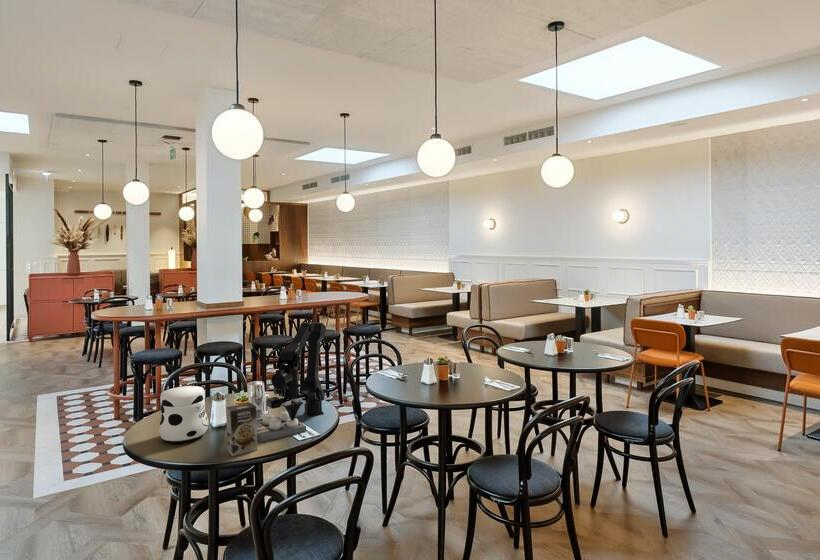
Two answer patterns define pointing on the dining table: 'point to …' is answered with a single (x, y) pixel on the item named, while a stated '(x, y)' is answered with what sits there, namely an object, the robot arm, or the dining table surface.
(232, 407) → the coffee box
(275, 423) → the button
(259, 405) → the beer glass
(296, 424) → the button
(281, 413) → the button
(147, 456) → the dining table surface
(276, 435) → the puzzle board
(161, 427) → the milk container
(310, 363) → the robot arm
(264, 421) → the button
